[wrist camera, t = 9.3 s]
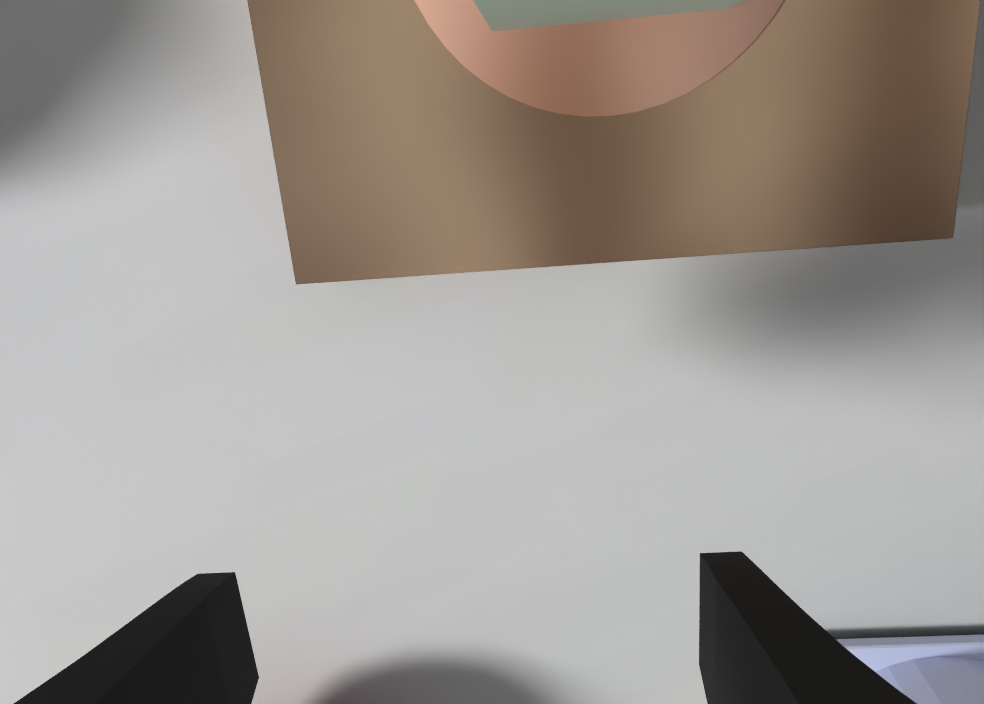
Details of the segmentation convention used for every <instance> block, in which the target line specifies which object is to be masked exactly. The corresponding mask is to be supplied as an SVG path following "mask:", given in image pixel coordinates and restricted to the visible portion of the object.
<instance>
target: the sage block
mask: <svg viewBox="0 0 984 704" xmlns="http://www.w3.org/2000/svg"><path fill="white" fill-rule="evenodd" d="M473 1H474V3H475V4H476V6H477V7H478V9H479V11H480V12H481V14H482V16H483V17H484V19H485V21H486V22H487V24H488V25H489V27H490V29H491V30H492V31H502V30H512V29H523V28H533V27H544V26H554V25H564V24H575V23H585V22H596V21H606V20H616V19H627V18H637V17H648V16H658V15H668V14H679V13H689V12H700V11H710V10H720V9H727V8H729V7H731V6H734V5H736V4H738V3H740V2H742V1H745V0H473Z"/></svg>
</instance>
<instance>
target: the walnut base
mask: <svg viewBox="0 0 984 704" xmlns="http://www.w3.org/2000/svg"><path fill="white" fill-rule="evenodd" d="M248 6H249V12H250V18H251V24H252V30H253V35H254V41H255V47H256V53H257V59H258V65H259V71H260V76H261V82H262V88H263V94H264V100H265V106H266V111H267V117H268V123H269V129H270V135H271V141H272V147H273V152H274V158H275V164H276V170H277V176H278V182H279V187H280V193H281V199H282V205H283V211H284V217H285V223H286V228H287V234H288V240H289V246H290V252H291V258H292V264H293V269H294V275H295V281H296V284H308V283H322V282H336V281H350V280H365V279H379V278H393V277H407V276H422V275H436V274H450V273H464V272H478V271H493V270H507V269H521V268H535V267H549V266H564V265H578V264H592V263H606V262H620V261H635V260H649V259H663V258H677V257H691V256H706V255H720V254H734V253H748V252H762V251H777V250H791V249H805V248H819V247H833V246H848V245H862V244H876V243H890V242H904V241H919V240H933V239H947V238H953V234H954V225H955V216H956V208H957V199H958V190H959V181H960V173H961V164H962V155H963V147H964V138H965V129H966V120H967V112H968V103H969V94H970V86H971V77H972V68H973V59H974V51H975V42H976V33H977V25H978V16H979V7H980V0H745V1H742V2H740V3H738V4H736V5H734V6H731V7H729V8H727V9H720V10H710V11H700V12H689V13H679V14H668V15H658V16H648V17H637V18H627V19H616V20H606V21H596V22H585V23H575V24H564V25H554V26H544V27H533V28H523V29H512V30H502V31H492V30H491V29H490V27H489V25H488V24H487V22H486V21H485V19H484V17H483V16H482V14H481V12H480V11H479V9H478V7H477V6H476V4H475V3H474V1H473V0H248Z"/></svg>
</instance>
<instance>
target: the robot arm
mask: <svg viewBox="0 0 984 704" xmlns="http://www.w3.org/2000/svg"><path fill="white" fill-rule="evenodd" d="M699 666H700V670H701V675H702V680H703V684H704V689H705V693H706V698H707V703H708V704H984V635H954V636H923V637H891V638H860V639H835V638H834V637H833V636H831V635H830V634H829V633H828V632H827V631H826V630H825V629H823V628H822V627H821V626H820V625H819V624H818V623H817V622H815V621H814V620H813V619H812V618H811V617H810V616H809V615H808V614H807V613H806V612H805V611H803V610H802V609H801V608H800V607H799V606H798V605H797V604H796V603H795V602H794V601H793V600H792V599H791V598H790V597H789V596H788V595H786V594H785V593H784V592H783V591H782V590H781V589H780V588H779V587H778V586H777V585H776V584H775V583H774V582H773V581H772V580H771V579H770V578H769V577H768V576H767V575H766V574H765V573H764V572H763V571H762V570H761V569H759V568H758V567H757V566H756V565H755V564H754V563H753V562H752V561H751V560H750V559H749V558H748V557H747V556H746V555H745V554H744V553H742V552H721V553H700V628H699ZM258 679H259V676H258V672H257V668H256V663H255V659H254V654H253V650H252V645H251V641H250V637H249V632H248V628H247V623H246V619H245V615H244V610H243V606H242V601H241V597H240V592H239V588H238V584H237V579H236V575H235V572H232V573H207V574H197V575H195V576H194V577H192V578H190V579H189V580H187V581H186V582H184V583H183V584H181V585H180V586H178V587H177V588H175V589H174V590H173V591H171V592H170V593H168V594H167V595H166V596H164V597H163V598H161V599H160V600H159V601H157V602H156V603H155V604H153V605H152V606H151V607H149V608H148V609H146V610H145V611H144V612H142V613H141V614H140V615H138V616H137V617H136V618H134V619H133V620H132V621H130V622H129V623H128V624H126V625H125V626H123V627H122V628H121V629H119V630H118V631H117V632H115V633H114V634H113V635H111V636H110V637H108V638H107V639H106V640H104V641H103V642H102V643H100V644H99V645H98V646H96V647H95V648H93V649H92V650H91V651H89V652H88V653H87V654H85V655H84V656H83V657H81V658H80V659H78V660H77V661H75V662H74V663H72V664H71V665H70V666H68V667H67V668H65V669H64V670H62V671H61V672H59V673H58V674H56V675H55V676H53V677H52V678H51V679H49V680H48V681H46V682H45V683H43V684H42V685H40V686H39V687H37V688H36V689H35V690H33V691H32V692H30V693H29V694H27V695H26V696H24V697H23V698H21V699H20V700H18V701H17V702H16V703H14V704H251V702H252V699H253V696H254V692H255V689H256V685H257V682H258Z"/></svg>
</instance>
